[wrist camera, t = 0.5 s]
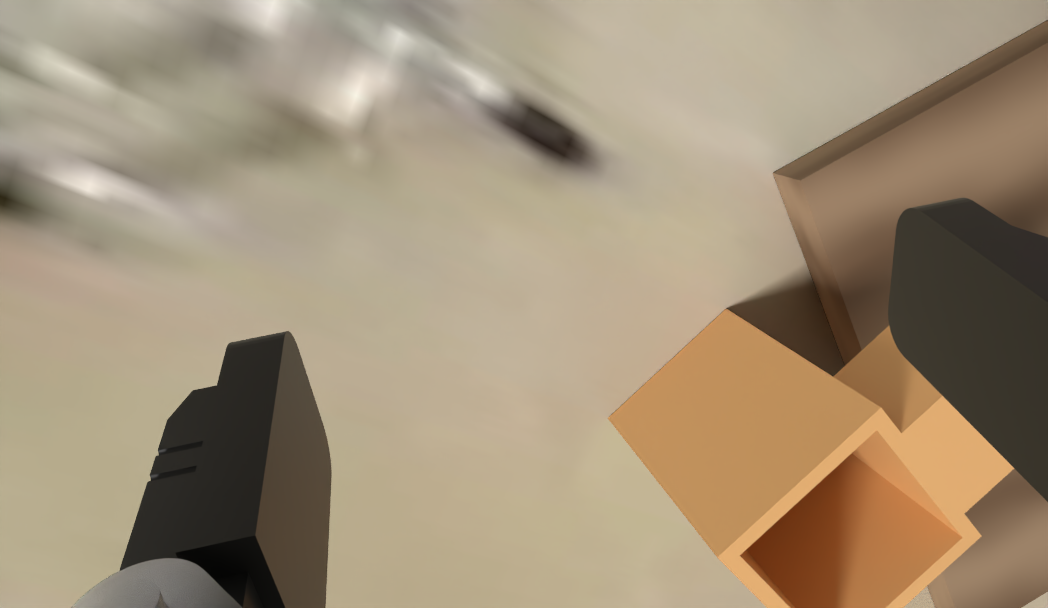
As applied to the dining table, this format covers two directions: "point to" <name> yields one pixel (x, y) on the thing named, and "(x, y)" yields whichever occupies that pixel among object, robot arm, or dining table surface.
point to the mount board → (868, 246)
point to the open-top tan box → (812, 466)
